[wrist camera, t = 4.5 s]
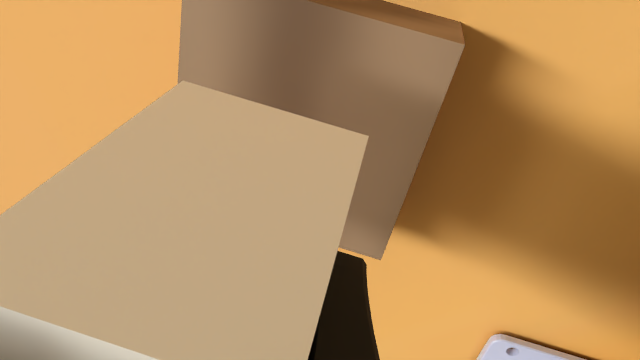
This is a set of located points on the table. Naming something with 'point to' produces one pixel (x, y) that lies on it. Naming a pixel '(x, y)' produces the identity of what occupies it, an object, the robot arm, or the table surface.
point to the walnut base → (334, 82)
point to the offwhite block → (181, 237)
